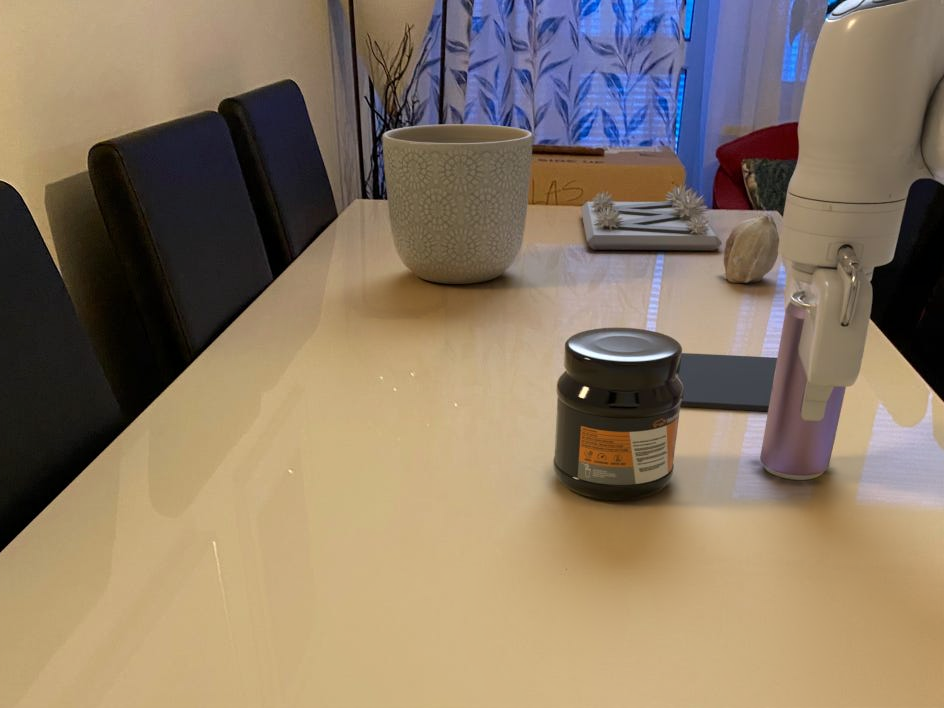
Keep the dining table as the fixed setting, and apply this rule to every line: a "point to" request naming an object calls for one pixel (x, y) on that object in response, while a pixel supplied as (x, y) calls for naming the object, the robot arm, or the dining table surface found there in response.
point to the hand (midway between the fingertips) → (805, 402)
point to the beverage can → (797, 410)
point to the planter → (457, 198)
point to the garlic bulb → (751, 249)
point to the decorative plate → (649, 224)
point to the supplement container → (618, 413)
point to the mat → (727, 381)
